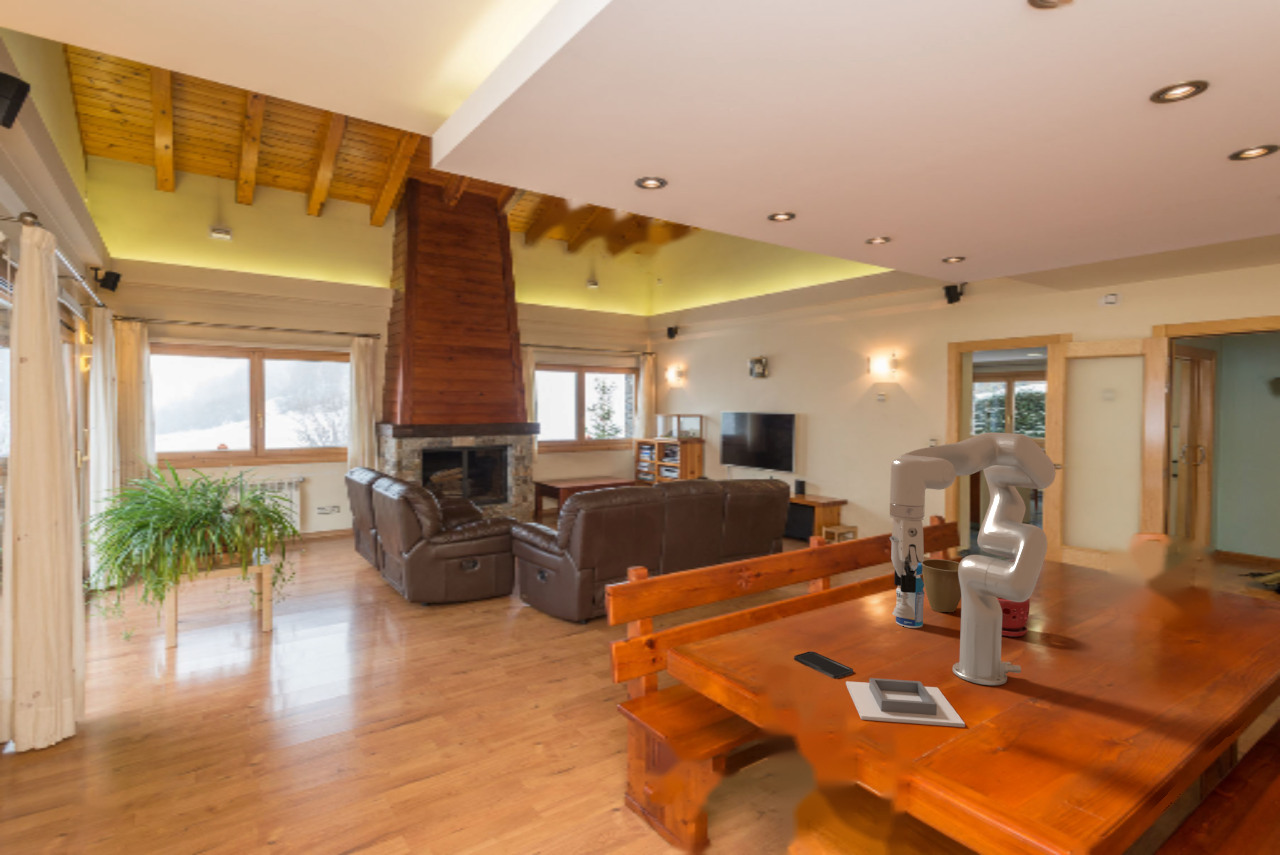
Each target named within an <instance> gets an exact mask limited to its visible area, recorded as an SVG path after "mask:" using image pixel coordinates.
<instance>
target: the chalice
mask: <svg viewBox="0 0 1280 855" xmlns="http://www.w3.org/2000/svg"><path fill="white" fill-rule="evenodd" d="M888 538H889V540H890V542H891V546H890V547H891V548H890V549H891V554H890V555H891V556H890V559H891V562H892V565H893V568H894V571H895V570H896V572H897V574H898V576H899V577H901V574H902V575H903V573H902V561H900V560H899V554H898V542H899V541H897V540H893V536H892V535H891V536H889V537H888ZM916 559H918V558H917V555H916ZM906 562H910V560H909V559H906ZM918 563H919V562H918V560H917V565H918ZM907 566H909V564H906V568H907ZM901 596H902V601H901V602H900V603H899V604H897V605H895V607H894V609H893V611H892V613H891V614H892V615H893V616H894V617H896V616H897V617H900V618H914V617H915V614H914V611H913V610H912V607H911V606H910V605H908V603H907V601H906V598H907V596H908V594H907V592H902V593H901Z"/></svg>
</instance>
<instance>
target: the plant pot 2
mask: <svg viewBox="0 0 1280 855" xmlns="http://www.w3.org/2000/svg"><path fill="white" fill-rule="evenodd" d="M997 599H998V601H999V603H1000V606H1001V609H1002V636H1005V637H1013V638H1014V637H1021V636H1024V635H1026V634H1027V632H1028V627H1026V626H1025V625H1026V624H1027V621H1028V620H1029V619H1028V618H1029V615H1030V598H1029V599H1028V600H1026V601H1024V602H1014V601H1010V600H1006V599H1002V598H998V597H997Z"/></svg>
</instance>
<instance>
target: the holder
mask: <svg viewBox="0 0 1280 855" xmlns="http://www.w3.org/2000/svg"><path fill="white" fill-rule="evenodd" d="M845 686H846V688H847V691H848V692H849V695H850V697H851V699H852V702H853V704H854V706H855V708H856V711H857V713H858V715H859V717H860V720H862V721H863V720H866V721H877V722H888V723H889V722H890V723H905V724H918V725H931V726H945V727H956V728H957V727H958V728H965V727H966V723H965V721H964V720H963V719H962V718H961V717H960V715H959V714H958V713H957V711H956V710H955V708H954V707H953V706H952V705H951V703H950V701H948V700H947V698H946V696H944V694H943V693H942V692H941V690H940V689H939V688H938V687H935V686H925V685H923V683H922V682H921V680H919V681H918V680H904V679H892V678H891V679H890V678H875V677H869V682H862V681H861V682H860V681H848V680H847V681H845Z"/></svg>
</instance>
